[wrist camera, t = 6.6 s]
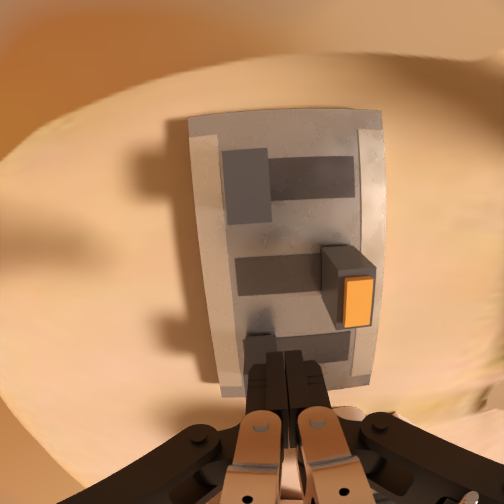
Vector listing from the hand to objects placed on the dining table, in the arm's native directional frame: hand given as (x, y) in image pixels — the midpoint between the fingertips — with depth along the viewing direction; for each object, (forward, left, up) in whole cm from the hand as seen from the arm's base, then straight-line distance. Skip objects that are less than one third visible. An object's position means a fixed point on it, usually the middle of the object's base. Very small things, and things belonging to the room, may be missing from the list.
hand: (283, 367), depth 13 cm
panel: (-2, 0, -13) cm, 13 cm away
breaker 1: (+1, -7, -11) cm, 13 cm away
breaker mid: (-5, 0, -11) cm, 12 cm away
